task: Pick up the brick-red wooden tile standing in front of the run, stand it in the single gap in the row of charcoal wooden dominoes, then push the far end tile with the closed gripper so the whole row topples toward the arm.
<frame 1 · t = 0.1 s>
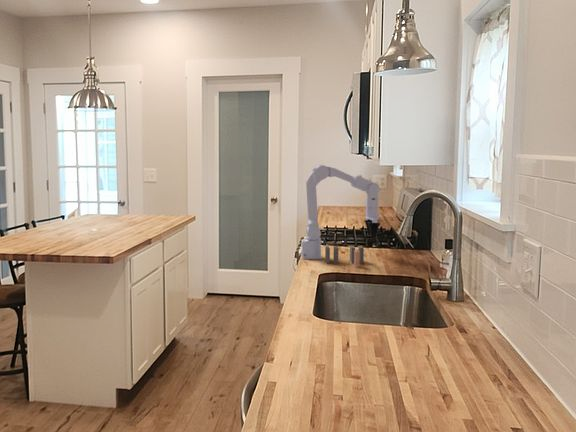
hand: (371, 236, 236), 10 cm above the worktop, fingers open, 7 cm apart
charcoal tile 4: (335, 262, 225), on the worktop
charcoal tile 1: (360, 261, 226), on the worktop
charcoal tile 2: (352, 262, 226), on the worktop
brick tile: (356, 266, 217), on the worktop
charcoal tile 5: (327, 262, 225), on the worktop
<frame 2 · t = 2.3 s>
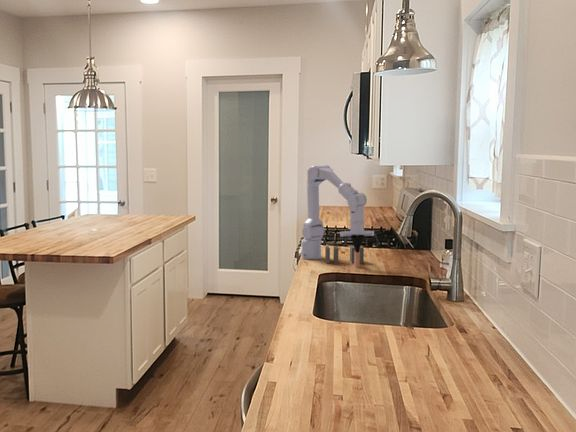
hand: (357, 252, 216), 6 cm above the worktop, fingers closed, pressing on brick tile
brick tile: (356, 267, 217), on the worktop, touching gripper
everything else where it was.
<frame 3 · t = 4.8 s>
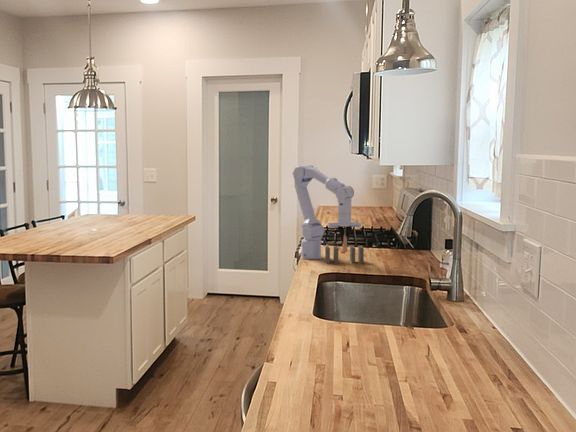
hand: (344, 243, 223), 9 cm above the worktop, fingers closed on brick tile
brick tile: (344, 251, 224), point 5 cm above the worktop, touching gripper
everything else where it was.
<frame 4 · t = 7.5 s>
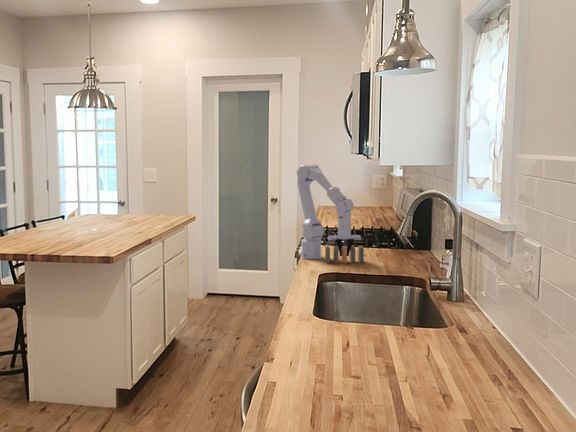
hand: (344, 255, 225), 3 cm above the worktop, fingers closed
charcoal tile 4: (335, 262, 225), on the worktop, touching gripper
brick tile: (344, 262, 226), on the worktop
everything else where it was.
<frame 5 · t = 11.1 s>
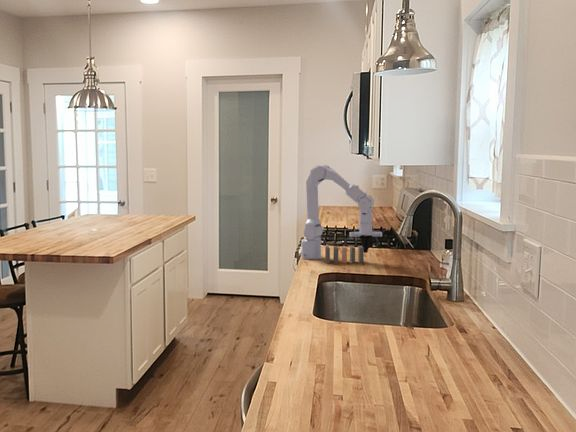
hand: (365, 252, 225), 4 cm above the worktop, fingers closed
charcoal tile 4: (335, 262, 225), on the worktop
charcoal tile 1: (360, 261, 226), on the worktop, touching gripper
everything else where it was.
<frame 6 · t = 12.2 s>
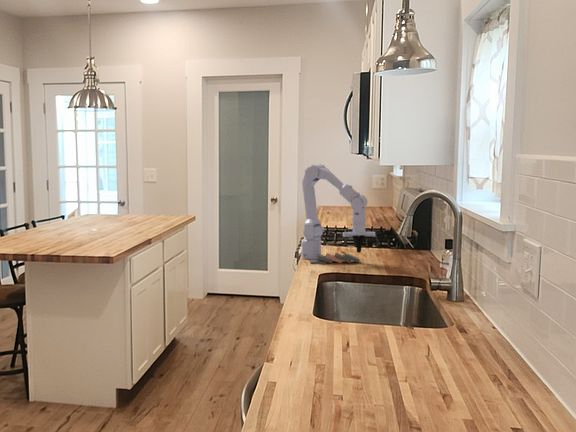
hand: (358, 252, 225), 4 cm above the worktop, fingers closed
charcoal tile 4: (331, 260, 225), point 1 cm above the worktop, tilted 71°, touching brick tile, charcoal tile 5
charcoal tile 1: (358, 260, 226), point 1 cm above the worktop, tilted 68°, touching charcoal tile 2
charcoal tile 2: (350, 260, 225), point 1 cm above the worktop, tilted 68°, touching brick tile, charcoal tile 1
brick tile: (341, 260, 225), point 1 cm above the worktop, tilted 69°, touching charcoal tile 2, charcoal tile 4
charcoal tile 5: (325, 262, 225), on the worktop, tilted 90°, touching charcoal tile 4
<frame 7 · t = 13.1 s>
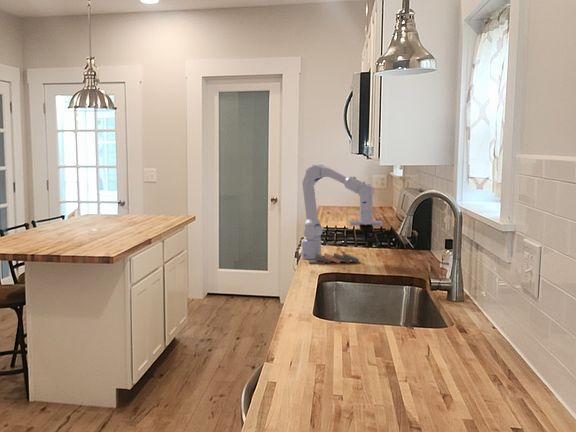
hand: (365, 241, 225), 9 cm above the worktop, fingers closed
charcoal tile 4: (329, 260, 225), point 1 cm above the worktop, tilted 69°, touching brick tile, charcoal tile 5
charcoal tile 1: (357, 260, 226), point 1 cm above the worktop, tilted 69°
charcoal tile 2: (348, 260, 225), point 1 cm above the worktop, tilted 69°, touching brick tile
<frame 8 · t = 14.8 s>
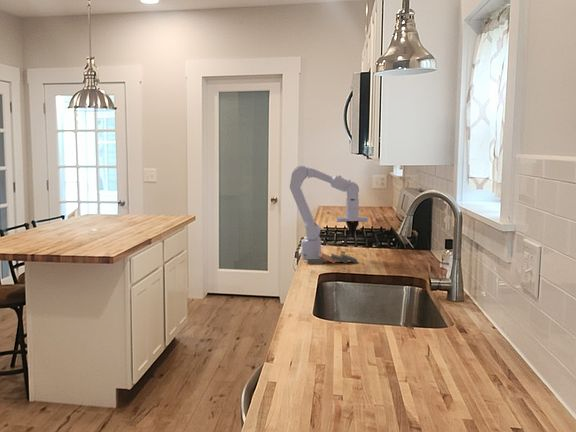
hand: (352, 237, 233), 10 cm above the worktop, fingers closed
charcoal tile 4: (322, 259, 225), point 2 cm above the worktop, tilted 90°, touching charcoal tile 5
charcoal tile 1: (355, 260, 226), point 1 cm above the worktop, tilted 69°, touching charcoal tile 2
charcoal tile 2: (346, 260, 225), point 1 cm above the worktop, tilted 71°, touching brick tile, charcoal tile 1
brick tile: (333, 260, 225), point 1 cm above the worktop, tilted 62°, touching charcoal tile 2
at the end: charcoal tile 5 tilted 90°; brick tile tilted 67°; brick tile inside the target area (2.1 cm from its centre), point 0.8 cm above the worktop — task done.
